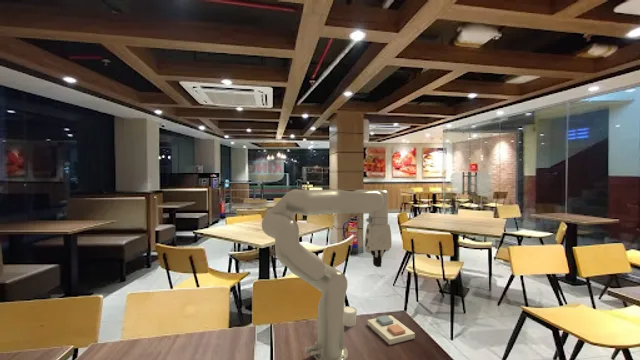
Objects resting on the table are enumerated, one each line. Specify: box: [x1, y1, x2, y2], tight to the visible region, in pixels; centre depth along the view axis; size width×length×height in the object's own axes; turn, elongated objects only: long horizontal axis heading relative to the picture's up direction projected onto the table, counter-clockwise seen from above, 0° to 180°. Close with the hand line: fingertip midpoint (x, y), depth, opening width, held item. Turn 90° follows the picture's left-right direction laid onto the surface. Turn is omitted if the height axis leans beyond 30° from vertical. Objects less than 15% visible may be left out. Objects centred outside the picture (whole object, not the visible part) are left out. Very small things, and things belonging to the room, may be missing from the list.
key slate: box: [375, 314, 393, 326], centre depth 129 cm, size 5×5×2 cm
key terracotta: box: [387, 324, 405, 336], centre depth 121 cm, size 5×5×2 cm
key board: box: [367, 315, 416, 345], centre depth 125 cm, size 12×16×3 cm
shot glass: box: [344, 305, 358, 328], centre depth 131 cm, size 7×7×7 cm
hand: (377, 265), depth 121 cm, fingers closed
